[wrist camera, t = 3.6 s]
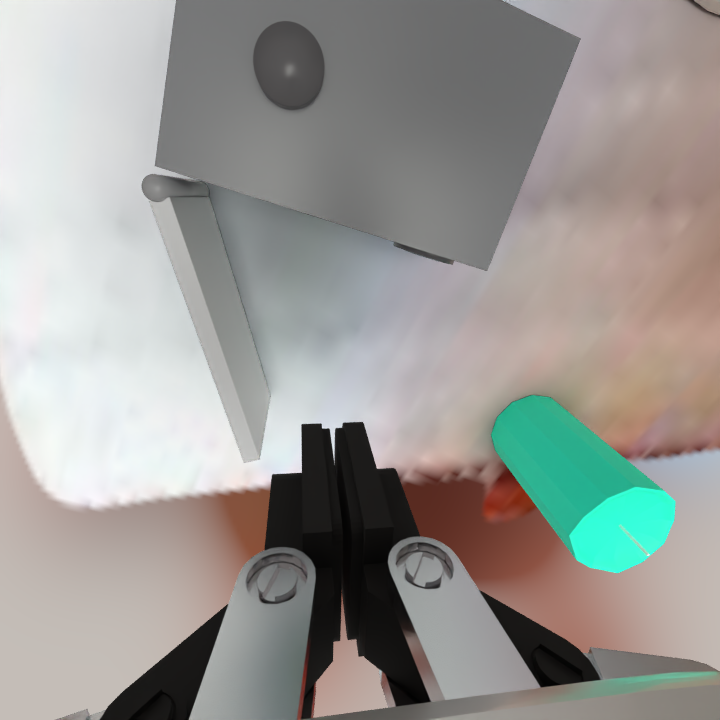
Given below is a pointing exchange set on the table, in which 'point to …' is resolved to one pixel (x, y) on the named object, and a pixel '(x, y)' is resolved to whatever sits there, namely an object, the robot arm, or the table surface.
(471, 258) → the camera body
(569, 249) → the table surface
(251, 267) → the table surface
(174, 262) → the side door
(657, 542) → the candle
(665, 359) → the table surface
